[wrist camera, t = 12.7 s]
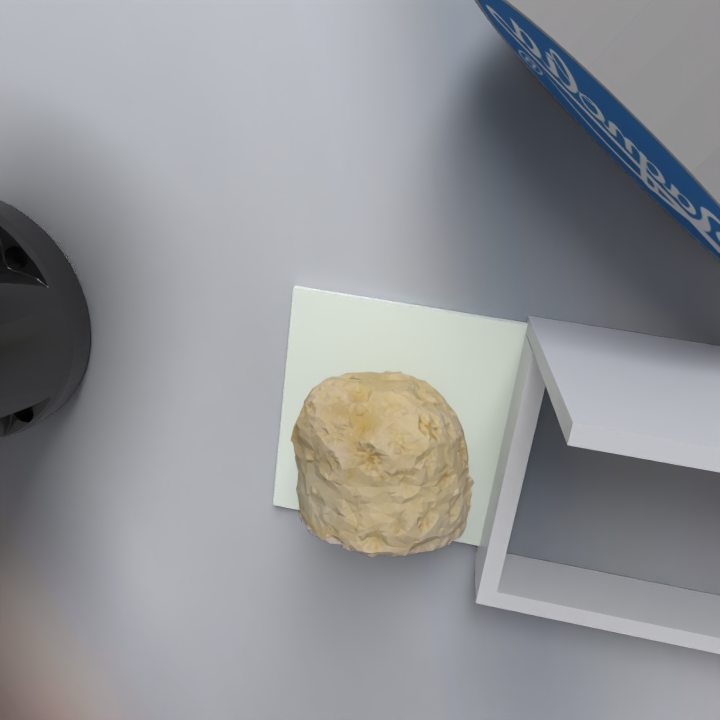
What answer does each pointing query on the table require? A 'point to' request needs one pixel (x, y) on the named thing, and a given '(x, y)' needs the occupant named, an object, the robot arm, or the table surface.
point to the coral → (381, 465)
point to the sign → (634, 89)
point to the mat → (404, 372)
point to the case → (613, 435)
